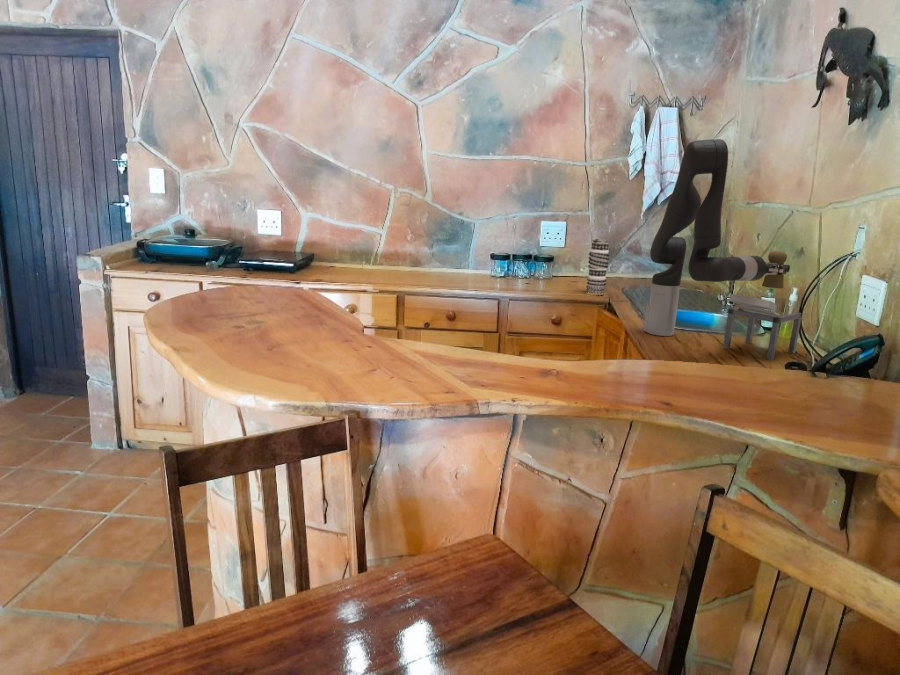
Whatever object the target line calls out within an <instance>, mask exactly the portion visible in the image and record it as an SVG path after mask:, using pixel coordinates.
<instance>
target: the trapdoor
mask: <svg viewBox="0 0 900 675" xmlns="http://www.w3.org/2000/svg"><path fill="white" fill-rule="evenodd" d="M729 301H730V302H733V303H734V304H735V305H737V307H738V308H739V309H741V310H743V311H748V312H753V313H758V314H763V315H768V316H774V317H778V316H782V315H783V314H780V313H779V312H776V310H777V306H778V304H777V303H776V302H773V301H772V300H769V299H762V298H757V297H749V296H745V295H739V294H733V293H731V295H730V298H729ZM750 306H751V307H750ZM755 307H756V308H755ZM792 321H793V320H790V321H786V322H785V323H792Z"/></svg>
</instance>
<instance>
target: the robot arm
mask: <svg viewBox="0 0 900 675" xmlns="http://www.w3.org/2000/svg"><path fill="white" fill-rule="evenodd" d="M728 164H729V148H728V144H727V143H726V141H725V140H723V139H721V138H716V139H714V138H713V139H701V140H698V139H697V140H693V141H690V142H688V144H687V145H686V147H685V149H684V151H683V155H682V159H681V163H680V165H679V171H678V175H677V178H676V181H675V185H674V187H673V191H672V193H671V195H670V197H669V200H668V204H667V206H666V209H665V212H664V215H663V219H662V221H661V224H660V226H659V228H658V231H657V233H656V234H655V236H654V238H653V241H652V244H651V246H650V252H649V256H650V259H651V261H652V263H655V264H661V265H670V267H668V269H666V270H664V271H661V272H657V273H654V274H653V275H652V278H651V287H650V294H649V303H647V304H646V308H645V315H644V316H645V317H644V323H643V324H644V325H643V332H646V333H647V334H650V335H653V336H660V337H671V336H674V334H675V328H676V321H677V311H678V304H679V297H680V296H679V295H680V291H681V290H680V288H681V282H682V280H681V279H682V276H683V271H684V270H683V268H684V264H685V259H686V252H687V241H686V239H685V238H684V237H681V236H676V235H677V234H679V233H681V232H682V231H685V229H687V228H688V227H690V226H691V225H692V223H694V224H693V225H694V226H693V227H694V228H693V230H694V233H693V234H694V242H693V243H694V244H693V246H692V250H691V254H690V258H689V261H688V262H689V263H688V274H689V276H690V278H691V279H692V280H693V281H696V282H709V283H718V282H719V283H721V282H727V281H728V282H731V281H737V282H751V281H753V282H756V281H758V280H761V279H762V278H763V277H765V275H776V274H777V275H784V276H785V275H787V273H789V272H790V270H791V266H790V264H784V265H782V264H780V265H778V264H777V263H770V262H769V261H765V259H764V258H763V257H761V256H758V255H738V256H726V257H723V256H721V257H719V256H717V257H715V256H710V257H709V254H710V251H711V250H713V249H717V248H718V247H720V246H721V243H722V241H721V240H722V227H721V226H722V224H721V223H722V208H723V206H722V205H723V200H724V194H725V186H726V180H727V179H726V178H727V173H728V166H729V165H728ZM708 174H709V175H710V174H711V183H710V186H709V189H708V192H707V194H706V196H705V198H704V199H703V201H702V198H701V195H700V193H699V191H698V189H697V187H696V186H695V183H694V178H695V177H696V176H697V175H708ZM777 267H778V268H777Z"/></svg>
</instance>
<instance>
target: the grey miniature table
mask: <svg viewBox="0 0 900 675" xmlns="http://www.w3.org/2000/svg"><path fill="white" fill-rule="evenodd" d="M750 307H751V306H750ZM755 308H756V307H755ZM781 315H782V316H778V317H774V316H768V315H763V314H758V313H753V312H748V311H743V310H741V309H739V308H738V306H737V307H736V306H735V307H732V308H731V307H730V308H728V314H727V317H726V318H727V319H726V325H725V331H724V338H723V345H722V349H723V348H724V350H727V349H728V350H730V349H731V344H732V336H733V332H734V331H733V329H734V324H735V323H734V322H735V317H736V316H738V317H745V318H748V323H747V328H746V334H745V335H746V336H745V340H744V341H745V342H744V343H745V344H747V343H749V345H751V344H752V343H753V337H754V331H755V326H756V325H755V324H756V320H759V321H765V322H769V323H771V331H770V336H769V342H768V348H767V355H766V360H768V361H773V360H775V354H776V349H777V343H778V338H779V337H778V336H779V330H780V325H781V323H787V322H786V321H790V320H792V321H793V323H792V328H791V333H790V339H789V346H788V351H787V353H788V354H791V355H794V354H796V351H797V350H796V349H797V344H798V339H799V334H800V327H801V322H802V318H803V312H793V313H788V314H781ZM750 343H751V344H750Z"/></svg>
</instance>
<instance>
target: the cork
mask: <svg viewBox="0 0 900 675" xmlns="http://www.w3.org/2000/svg"><path fill="white" fill-rule="evenodd" d="M787 258H788V255H787V253H786V252H784V251H780V250H778V251H777V250H775V251H770V252H769V253H768V255H767V259H768V262H770V263H777V264H778V265H780V264H782V265H785V262H787ZM777 268H778V267H777ZM784 276H785V274H784V275H777V274H776V275H764V276H763V277H764V278H763V282H762V284H761V286H762V287H764V288H771V289H783V288H784V280H785V278H784Z"/></svg>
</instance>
